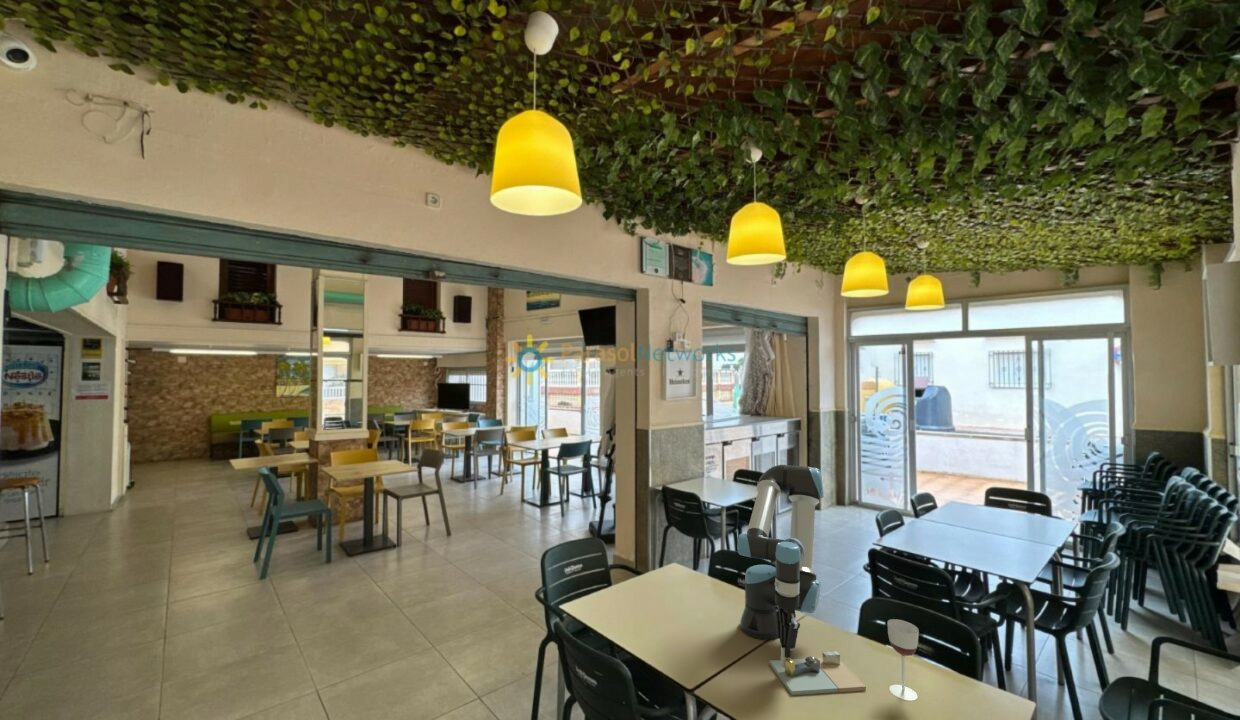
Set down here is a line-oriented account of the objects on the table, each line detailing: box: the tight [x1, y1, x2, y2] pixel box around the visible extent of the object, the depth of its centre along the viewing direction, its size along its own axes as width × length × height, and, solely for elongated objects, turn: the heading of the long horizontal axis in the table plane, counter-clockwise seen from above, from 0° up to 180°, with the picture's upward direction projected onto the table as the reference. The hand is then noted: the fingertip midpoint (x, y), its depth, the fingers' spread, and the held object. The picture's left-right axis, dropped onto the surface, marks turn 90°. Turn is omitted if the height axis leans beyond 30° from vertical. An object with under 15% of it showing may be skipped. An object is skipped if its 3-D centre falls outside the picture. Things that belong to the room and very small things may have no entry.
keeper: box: [822, 650, 841, 665], centre depth 163 cm, size 2×5×3 cm, turn 97°
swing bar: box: [785, 656, 820, 677], centre depth 158 cm, size 13×4×4 cm, turn 110°
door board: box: [769, 657, 867, 696], centre depth 158 cm, size 16×24×1 cm, turn 97°
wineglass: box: [886, 618, 920, 702], centre depth 151 cm, size 8×9×20 cm
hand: (785, 665), depth 158 cm, fingers closed
